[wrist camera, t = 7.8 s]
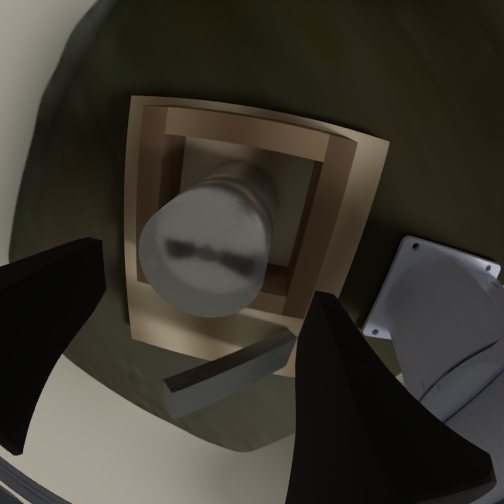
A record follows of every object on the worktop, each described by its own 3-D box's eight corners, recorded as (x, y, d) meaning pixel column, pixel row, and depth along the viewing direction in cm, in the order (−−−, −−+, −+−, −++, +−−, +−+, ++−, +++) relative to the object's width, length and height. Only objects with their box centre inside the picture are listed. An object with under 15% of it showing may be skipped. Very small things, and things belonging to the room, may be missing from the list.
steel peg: (287, 171, 15) (280, 220, 9) (268, 246, 17) (249, 330, 11) (204, 152, 15) (141, 188, 9) (193, 227, 17) (138, 298, 11)
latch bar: (287, 328, 20) (297, 337, 19) (277, 357, 21) (286, 365, 20) (163, 379, 14) (171, 393, 13) (165, 407, 15) (173, 419, 15)
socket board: (383, 139, 14) (411, 150, 11) (302, 367, 23) (301, 409, 19) (141, 95, 15) (101, 96, 11) (137, 329, 23) (116, 363, 20)
